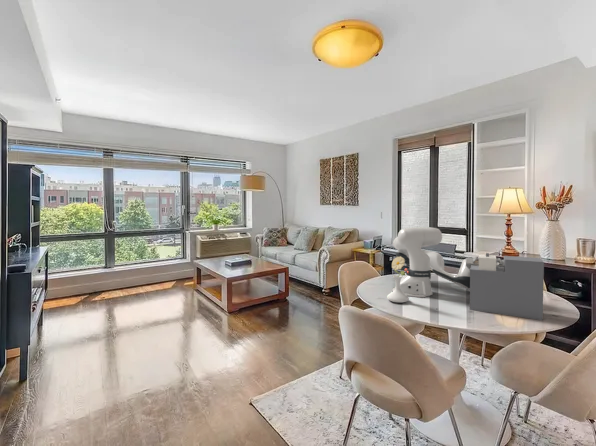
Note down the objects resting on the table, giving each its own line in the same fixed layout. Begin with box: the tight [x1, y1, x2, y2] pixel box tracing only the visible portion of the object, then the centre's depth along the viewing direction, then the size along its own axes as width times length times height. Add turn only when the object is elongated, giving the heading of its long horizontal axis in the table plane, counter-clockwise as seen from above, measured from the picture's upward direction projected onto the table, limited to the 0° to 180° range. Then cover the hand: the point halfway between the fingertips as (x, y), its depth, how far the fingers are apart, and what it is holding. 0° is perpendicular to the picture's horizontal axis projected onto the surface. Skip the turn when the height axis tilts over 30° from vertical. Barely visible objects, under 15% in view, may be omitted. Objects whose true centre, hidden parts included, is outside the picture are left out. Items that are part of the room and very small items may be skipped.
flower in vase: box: [386, 256, 410, 303], centre depth 159 cm, size 13×11×25 cm
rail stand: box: [469, 255, 545, 321], centre depth 143 cm, size 12×28×26 cm, turn 57°
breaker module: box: [478, 252, 497, 271], centre depth 150 cm, size 19×7×8 cm, turn 148°
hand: (487, 258), depth 155 cm, fingers open, 8 cm apart
